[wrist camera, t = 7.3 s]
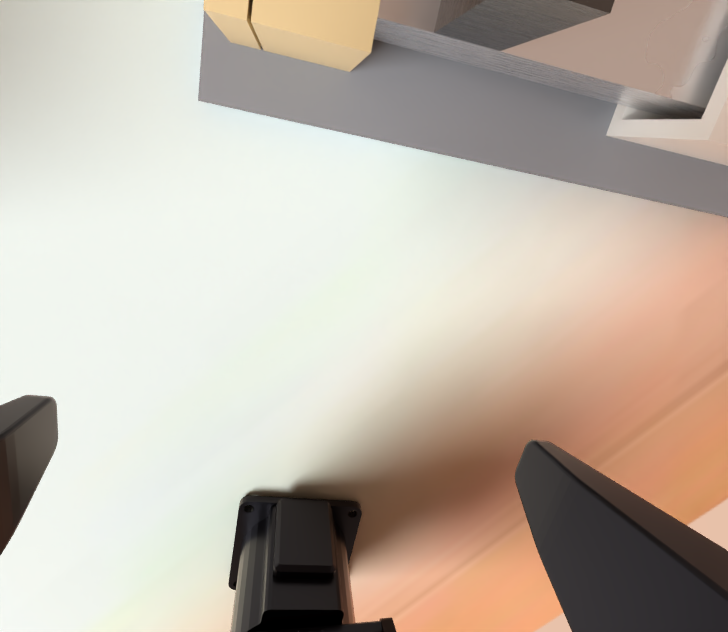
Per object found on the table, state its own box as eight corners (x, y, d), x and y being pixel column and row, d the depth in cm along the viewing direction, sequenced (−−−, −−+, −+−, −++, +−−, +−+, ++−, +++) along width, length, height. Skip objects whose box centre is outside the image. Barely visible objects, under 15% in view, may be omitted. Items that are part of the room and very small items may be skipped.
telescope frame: (813, 235, 23) (977, 272, 17) (203, 101, 17) (159, 92, 11) (929, 29, 20) (1175, -6, 14) (226, -225, 14) (181, -454, 8)
